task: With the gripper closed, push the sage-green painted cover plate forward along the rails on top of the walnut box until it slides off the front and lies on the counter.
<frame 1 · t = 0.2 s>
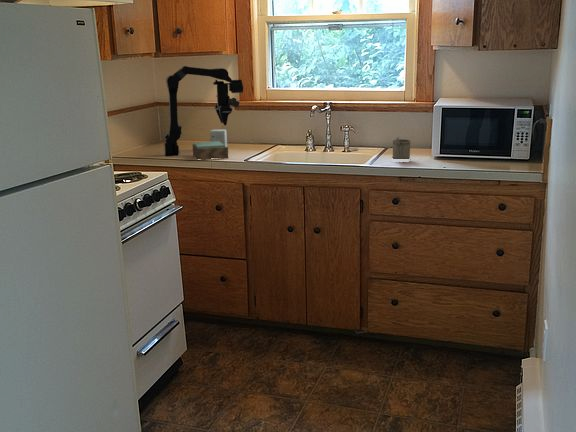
hand: (223, 124, 324), 14 cm above the countertop, fingers open, 9 cm apart
cover plate: (209, 146, 313), point 5 cm above the countertop, touching walnut box
jerry can: (399, 162, 296), on the countertop
walnut box: (210, 156, 315), on the countertop
small box: (219, 150, 334), on the countertop
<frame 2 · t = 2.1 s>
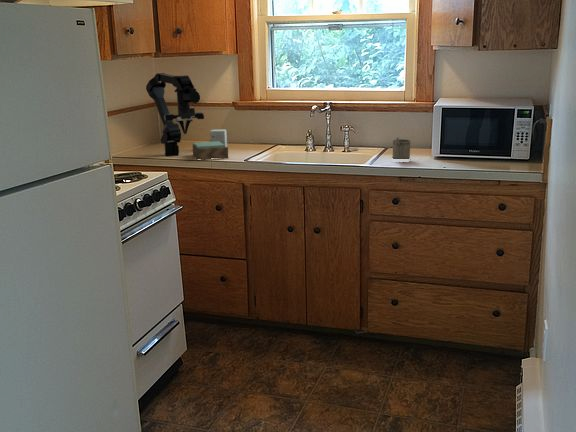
hand: (185, 134, 308), 12 cm above the countertop, fingers closed
nothing on the countertop moved.
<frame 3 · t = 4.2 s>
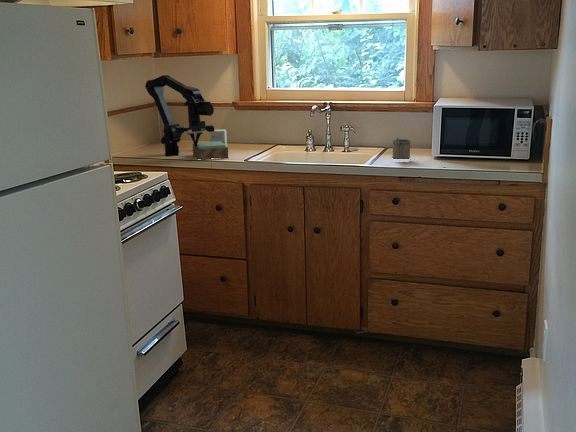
hand: (195, 146, 311), 6 cm above the countertop, fingers closed
cover plate: (210, 146, 313), point 5 cm above the countertop, touching gripper, walnut box
everything else where it was.
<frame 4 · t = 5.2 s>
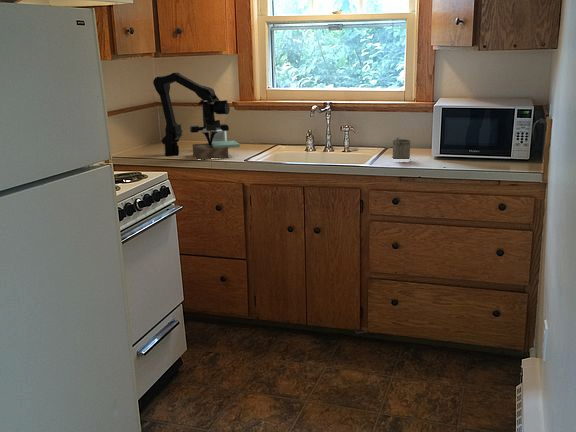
hand: (210, 145, 313), 6 cm above the countertop, fingers closed
cover plate: (224, 145, 315), point 5 cm above the countertop, touching gripper
everything else where it was.
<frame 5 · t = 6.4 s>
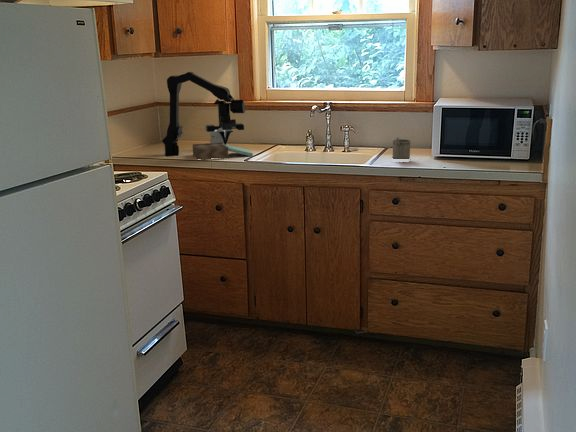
hand: (225, 144, 315), 6 cm above the countertop, fingers closed
cover plate: (237, 151, 318), point 2 cm above the countertop, tilted 16°
everything else where it was.
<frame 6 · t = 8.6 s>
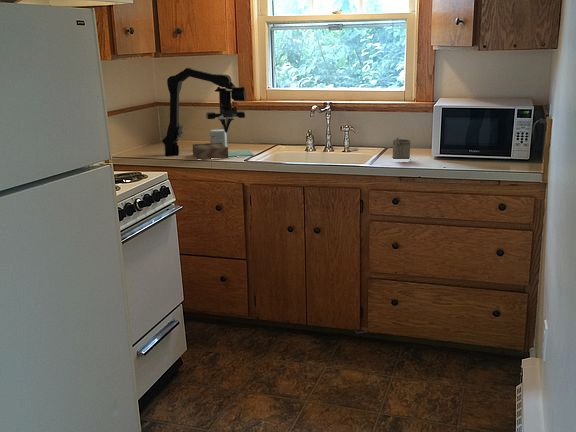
hand: (226, 132, 314), 12 cm above the countertop, fingers closed
cover plate: (238, 156, 319), on the countertop
everything else where it was.
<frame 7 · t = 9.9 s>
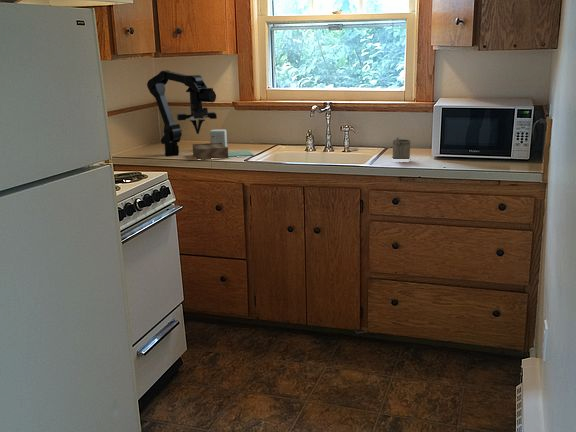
hand: (197, 133, 309), 12 cm above the countertop, fingers closed
nothing on the countertop moved.
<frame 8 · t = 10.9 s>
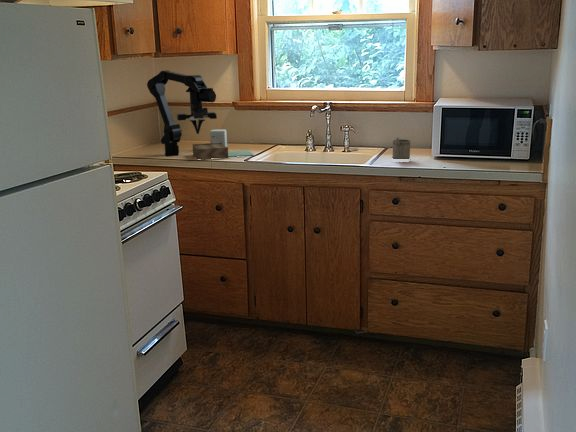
hand: (197, 133, 309), 12 cm above the countertop, fingers closed
nothing on the countertop moved.
at the end: cover plate inside the target area (3.6 cm from its centre), on the countertop; cover plate touching countertop; cover plate moved 15.9 cm from its start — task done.
